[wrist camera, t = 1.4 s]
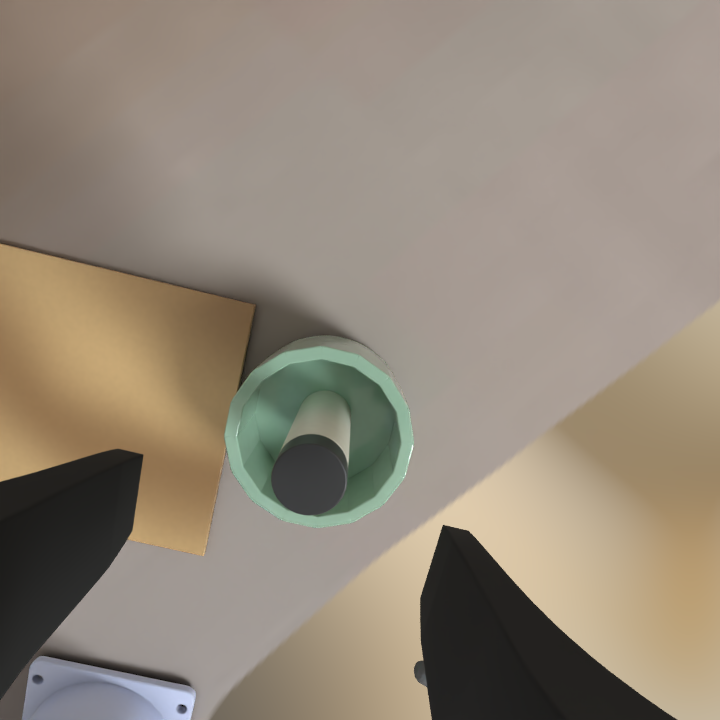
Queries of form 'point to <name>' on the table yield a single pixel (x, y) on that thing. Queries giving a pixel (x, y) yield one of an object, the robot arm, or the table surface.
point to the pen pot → (281, 404)
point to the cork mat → (120, 383)
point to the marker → (314, 456)
